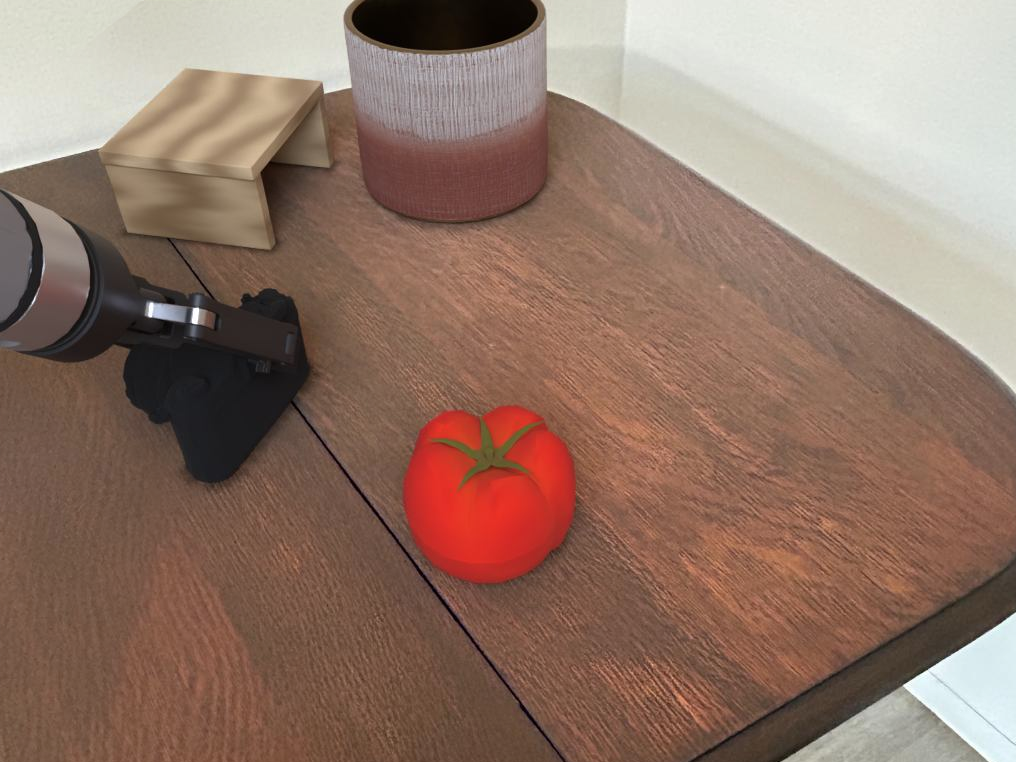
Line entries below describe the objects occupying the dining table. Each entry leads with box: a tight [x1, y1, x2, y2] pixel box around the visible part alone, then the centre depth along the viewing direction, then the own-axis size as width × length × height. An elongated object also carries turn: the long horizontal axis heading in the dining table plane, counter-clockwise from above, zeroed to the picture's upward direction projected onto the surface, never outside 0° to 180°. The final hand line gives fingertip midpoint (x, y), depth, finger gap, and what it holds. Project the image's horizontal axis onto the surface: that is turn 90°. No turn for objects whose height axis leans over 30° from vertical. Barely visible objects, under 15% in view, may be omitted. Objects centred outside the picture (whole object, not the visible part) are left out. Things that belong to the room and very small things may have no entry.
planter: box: [342, 0, 549, 223], centre depth 94 cm, size 18×18×16 cm
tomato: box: [402, 404, 577, 584], centre depth 64 cm, size 11×12×9 cm
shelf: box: [97, 67, 335, 251], centre depth 95 cm, size 14×17×8 cm
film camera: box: [122, 287, 311, 484], centre depth 73 cm, size 15×10×9 cm, turn 161°
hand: (225, 347), depth 75 cm, fingers closed on film camera, 10 cm apart
